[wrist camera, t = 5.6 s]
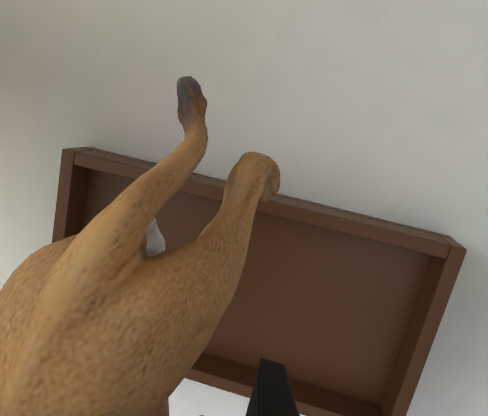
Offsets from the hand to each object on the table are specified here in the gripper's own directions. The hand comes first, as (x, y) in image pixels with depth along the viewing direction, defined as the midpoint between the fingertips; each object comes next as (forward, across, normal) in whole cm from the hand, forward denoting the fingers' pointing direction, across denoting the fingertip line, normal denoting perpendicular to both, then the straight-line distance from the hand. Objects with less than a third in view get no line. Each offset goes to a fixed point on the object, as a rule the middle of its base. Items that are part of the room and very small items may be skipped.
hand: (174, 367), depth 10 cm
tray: (+9, 0, +1) cm, 9 cm away
